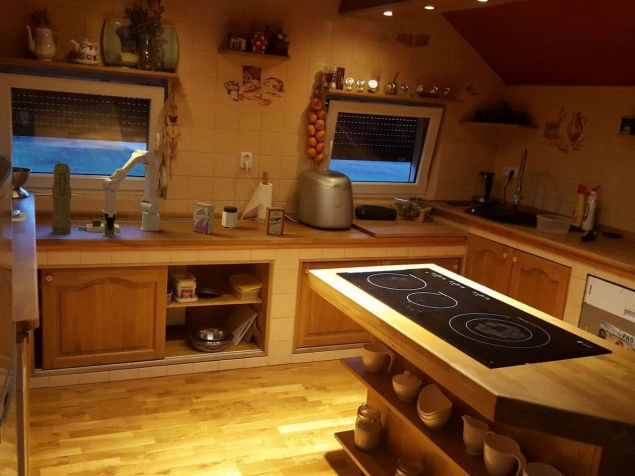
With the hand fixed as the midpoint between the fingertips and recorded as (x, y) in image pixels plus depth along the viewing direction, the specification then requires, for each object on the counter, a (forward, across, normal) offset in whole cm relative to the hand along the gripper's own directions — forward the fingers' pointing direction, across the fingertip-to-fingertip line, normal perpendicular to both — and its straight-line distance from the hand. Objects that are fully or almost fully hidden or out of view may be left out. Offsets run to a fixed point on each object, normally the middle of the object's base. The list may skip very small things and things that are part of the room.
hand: (109, 228), depth 310 cm
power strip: (+3, -10, -5) cm, 12 cm away
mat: (+3, 0, 0) cm, 3 cm away
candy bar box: (+4, -9, +50) cm, 51 cm away
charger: (+3, 0, 0) cm, 3 cm away
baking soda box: (+4, -7, +91) cm, 91 cm away
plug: (+1, -10, -6) cm, 12 cm away
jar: (+4, -26, +69) cm, 74 cm away
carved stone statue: (+4, -4, -23) cm, 24 cm away
